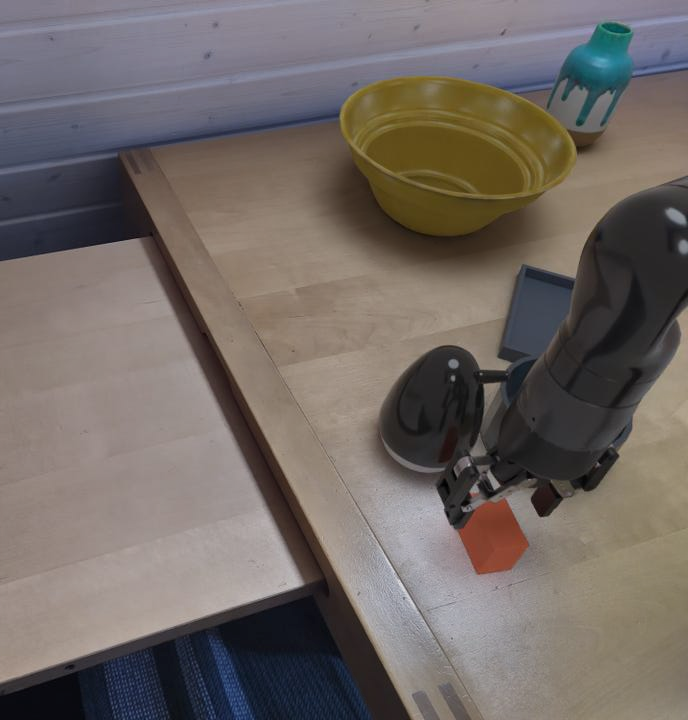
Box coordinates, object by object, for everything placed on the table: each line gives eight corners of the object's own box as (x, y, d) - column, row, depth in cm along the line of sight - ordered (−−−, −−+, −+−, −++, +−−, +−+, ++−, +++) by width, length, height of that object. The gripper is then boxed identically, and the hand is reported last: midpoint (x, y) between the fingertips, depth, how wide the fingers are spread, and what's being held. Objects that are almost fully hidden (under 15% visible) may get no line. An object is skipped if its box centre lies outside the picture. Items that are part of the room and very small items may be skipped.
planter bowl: (491, 147, 120) (519, 70, 110) (579, 272, 99) (624, 190, 89) (305, 155, 117) (316, 76, 107) (355, 285, 96) (375, 202, 86)
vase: (525, 142, 122) (570, 28, 108) (546, 117, 128) (592, 7, 114) (587, 164, 118) (642, 49, 104) (606, 137, 124) (661, 25, 109)
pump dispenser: (463, 499, 74) (513, 409, 63) (364, 472, 76) (395, 379, 65) (470, 425, 80) (516, 331, 69) (378, 401, 82) (409, 306, 71)
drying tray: (517, 274, 98) (522, 263, 97) (618, 303, 95) (625, 292, 93) (497, 357, 88) (503, 346, 86) (610, 393, 84) (618, 382, 83)
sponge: (484, 515, 73) (501, 489, 69) (511, 569, 69) (529, 545, 65) (452, 519, 72) (467, 493, 69) (477, 574, 68) (494, 550, 65)
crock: (565, 388, 85) (590, 348, 79) (627, 483, 76) (659, 445, 71) (461, 400, 83) (479, 360, 78) (512, 499, 74) (537, 461, 69)
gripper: (504, 461, 51) (440, 562, 63) (681, 437, 53) (586, 540, 65) (462, 381, 56) (410, 489, 68) (625, 362, 58) (547, 471, 70)
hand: (496, 514), depth 67 cm, fingers open, 8 cm apart
